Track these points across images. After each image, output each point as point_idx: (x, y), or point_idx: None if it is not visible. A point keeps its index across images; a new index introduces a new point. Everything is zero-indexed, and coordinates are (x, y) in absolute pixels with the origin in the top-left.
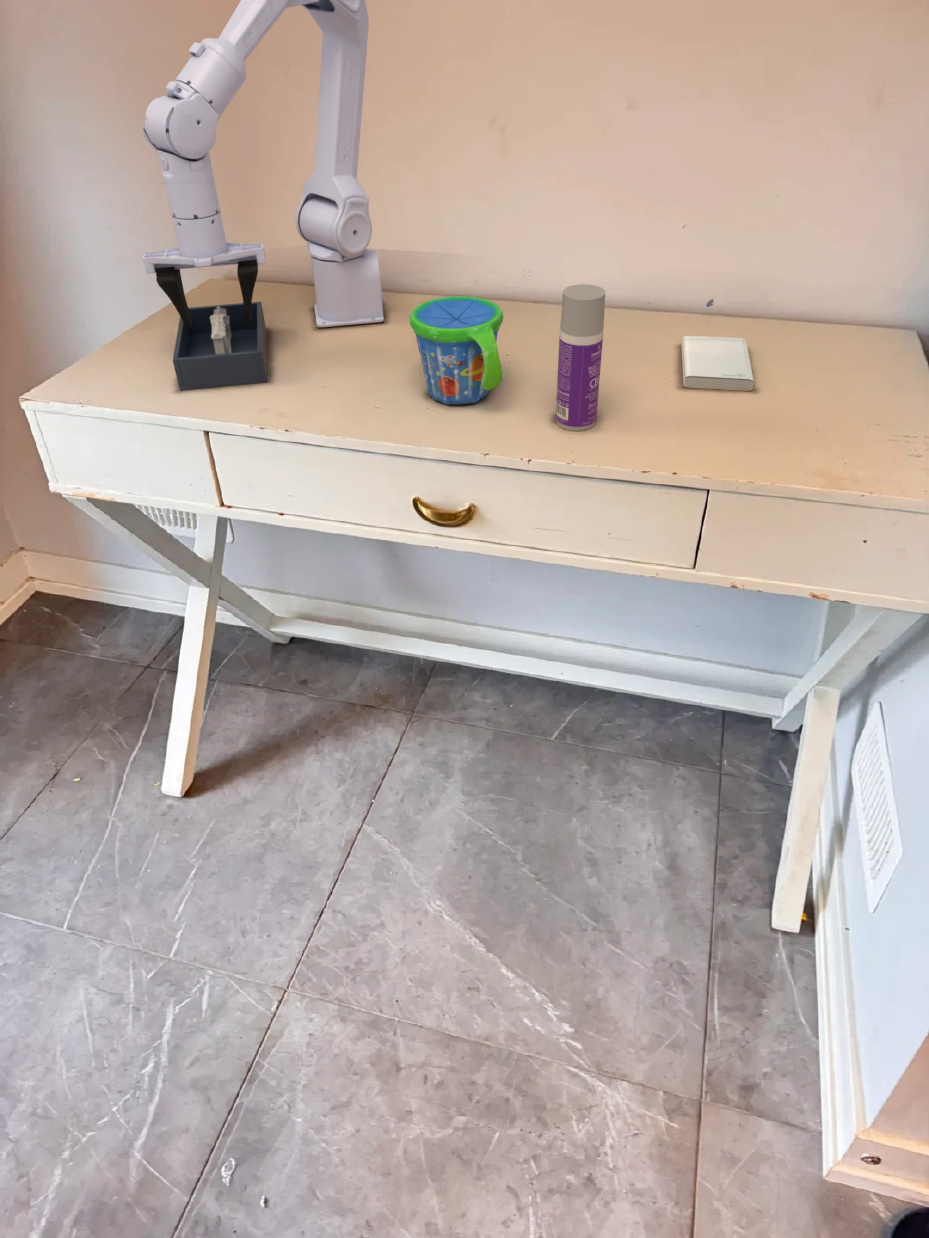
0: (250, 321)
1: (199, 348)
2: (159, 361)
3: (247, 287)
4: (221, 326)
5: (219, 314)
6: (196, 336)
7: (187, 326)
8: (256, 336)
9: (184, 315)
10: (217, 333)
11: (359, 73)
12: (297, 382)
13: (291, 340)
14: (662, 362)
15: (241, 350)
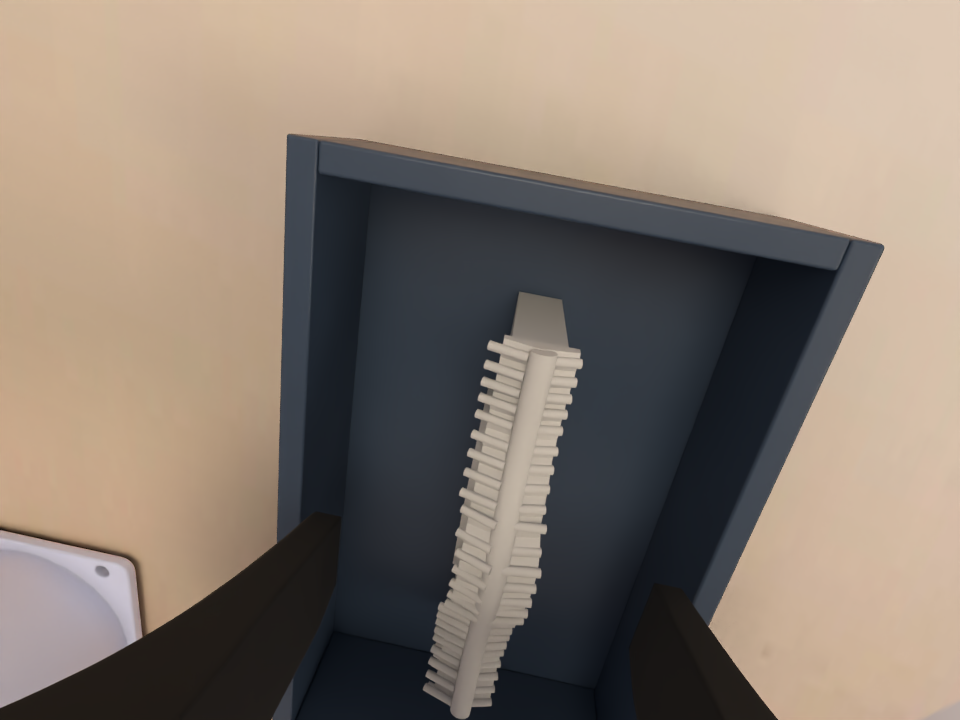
0: (310, 515)
1: (593, 570)
2: (770, 551)
3: (132, 686)
4: (485, 476)
5: (470, 605)
6: (579, 666)
7: (676, 596)
8: (356, 575)
9: (702, 652)
10: (532, 363)
11: None
12: (214, 78)
13: (234, 511)
14: None
15: (430, 485)
